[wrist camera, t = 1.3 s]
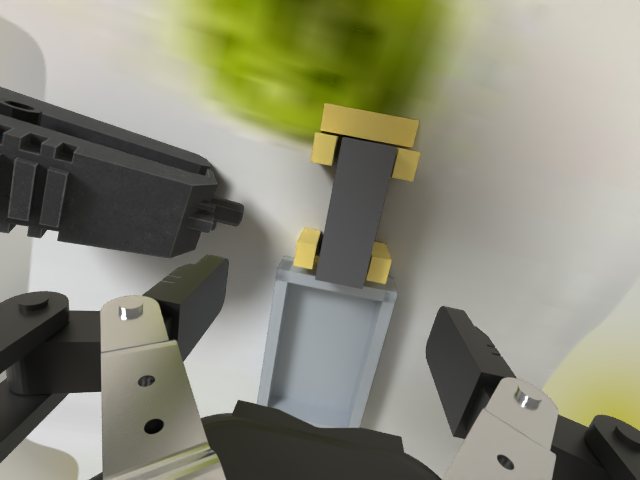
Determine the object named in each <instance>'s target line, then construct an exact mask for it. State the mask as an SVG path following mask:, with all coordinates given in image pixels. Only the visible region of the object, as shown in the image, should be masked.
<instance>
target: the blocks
mask: <svg viewBox="0 0 640 480" xmlns="http://www.w3.org/2000/svg"><path fill="white" fill-rule="evenodd" d="M418 125H419V121H418V120H413V119H408V118H402V117H397V116H392V115H386V114H381V113H375V112H370V111H365V110H359V109H354V108H349V107H343V106H338V105H333V104H327V103H325V104H324V110H323V116H322V122H321V128H320V130H321V131H326V132H332V133H337V134H342V135H348V136H353V137H358V138H363V139H369V140H374V141H379V142H384V143H390V144H395V145H400V146H406V147H411V148H413V144H414V140H415V136H416V132H417V129H418ZM338 137H339V136H333V135H328V134H323V133H316V132H315V137H314V143H313V149H312V155H311V161H310V162H314V163H319V164H324V165H329V166H332V164H333V162H334V159H335V153H336V148H337V143H338ZM420 154H421V152H417V151H412V150H407V149H402V148H397V152H396V156H395V160H394V164H393V168H392V172H391V177H392V178H397V179H402V180H407V181H412V182H413V180H414V177H415V173H416V169H417V165H418V162H419V158H420ZM320 233H321V231H319V230H314V229H309V228H304V229H303V231H302V233H301V235H300V237H299V239H298V241H297V245H296V251H295V258H294V264H293V266H298V267H303V268H308V269H312V268H313V265H318V262H319V256H320V255H319V254H316V253H317V249H318V243H319V238H320ZM391 262H392V259H391V256H390V253H389V250H388V248H387V245H386V244H384V243H379V242H374V245H373V249H372V253H371V257H370V261H369V266H368V270H367V274H366V280H368V281H373V282H378V283H383V284H386V281H387V277H388V273H389V270H390V266H391Z"/></svg>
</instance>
